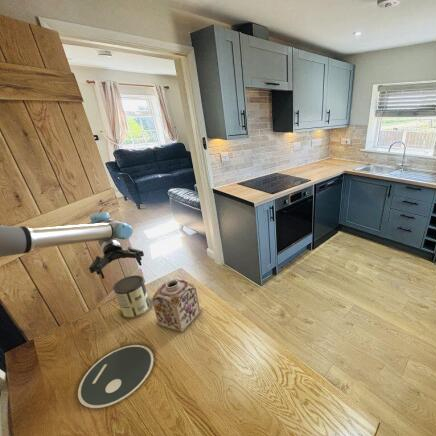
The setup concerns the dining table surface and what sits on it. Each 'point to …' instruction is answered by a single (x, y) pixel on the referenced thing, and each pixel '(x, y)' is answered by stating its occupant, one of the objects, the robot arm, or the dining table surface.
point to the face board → (115, 376)
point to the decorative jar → (176, 304)
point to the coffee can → (132, 296)
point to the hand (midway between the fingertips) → (122, 269)
